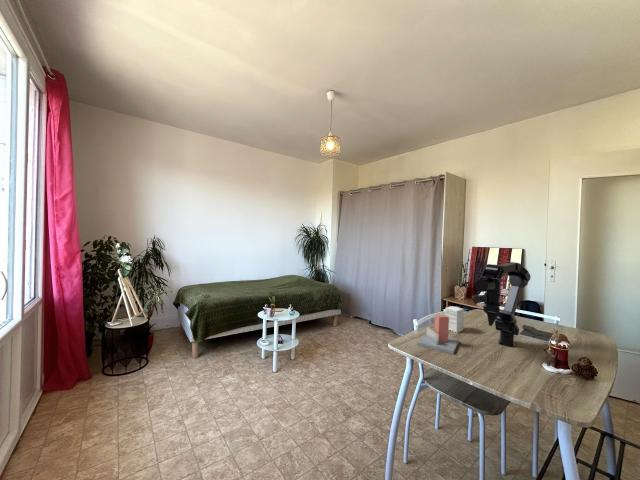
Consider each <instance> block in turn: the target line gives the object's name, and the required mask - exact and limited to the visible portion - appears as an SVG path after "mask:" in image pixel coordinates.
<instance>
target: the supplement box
mask: <svg viewBox="0 0 640 480" xmlns="http://www.w3.org/2000/svg"><path fill="white" fill-rule="evenodd" d="M444 310H445V311H444V315H446V316H448V317H449V330H451V331H450V332H452V331H453V333H455V332H456V333H455V334H457V333H459V332H463V331H464V321H465V320H464V319H465V318H464V317H465V316H464V315H465V310H464V308H461V307H457V306H453V305H452V306H451V305H450V306H447V307H445V309H444Z"/></svg>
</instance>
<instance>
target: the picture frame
mask: <svg viewBox="0 0 640 480" xmlns="http://www.w3.org/2000/svg"><path fill="white" fill-rule="evenodd" d="M554 333H555V332H552V331H548V330H543V329H538V328H536V327H535V326H530V325H527V324H523V325H522V326H521V328H520V329H519V334H518V335H514V338H519V339H522V340H525V341H530V342H534V343H537V344H542V345H544V344H547V345H546V346H548V344H549V341H550V339H551V337H552V335H553V334H554Z"/></svg>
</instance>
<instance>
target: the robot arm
mask: <svg viewBox="0 0 640 480" xmlns="http://www.w3.org/2000/svg"><path fill="white" fill-rule="evenodd" d="M506 274H507V276H508V277H509V279H508V281H509V283H510V287H509V291H508V294H507V296H506V297H507V298H506V300H505V304H504V307H503V310H502V311H501V308H500V307H501V302H500V299H501V287H502V282H503V279H502V278H503V277H504V276H505V275H506ZM479 277H480V278H479V279H478V280H476V282H475V284H474V285H475V288H476V290H477V291H479V292H480V293H481V292H482V293H484V292H485V293H484V294H475V295H472V296H471V299H472V303H473V305H475V304H480V303H484V304H483V307H482V308H483V309H482V310H483V312H484V313H485V314H486V315H487V321H488V326H490V327H492V326H493V325H494V326H495V330H496V331H499V339H498V345H501V346H506V347H511V348H515V347H516V346H515V341H514V340H515V337H514V335H518V334H519V330H520V329H519V326H518V324H517V322H518V320H517V318H516V316H515V313H516V310H517V307H518V303H519V300H520V296H521V294H522V290H523V289H524V288H525V287H527V286H528V285H529V282H530V281H531V274H530V272H529V270H528V269H527V268H525V267H523V265H522V264H521V263H519V262H513V261H508V262H506V263H502V264H493V263H492V264H491V263H487V264H486V265H485V267H484V269H483V271H482V273H481V274H480V276H479Z"/></svg>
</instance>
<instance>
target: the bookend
mask: <svg viewBox="0 0 640 480" xmlns="http://www.w3.org/2000/svg"><path fill="white" fill-rule="evenodd" d="M426 332H427V337H428V338H429V339H430V340H431V341H432V342H433V343H435V344H436V345H438V341H439V334H438V333H436V332H435V329H434V330H433V329H432V327H430V326H426Z"/></svg>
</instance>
